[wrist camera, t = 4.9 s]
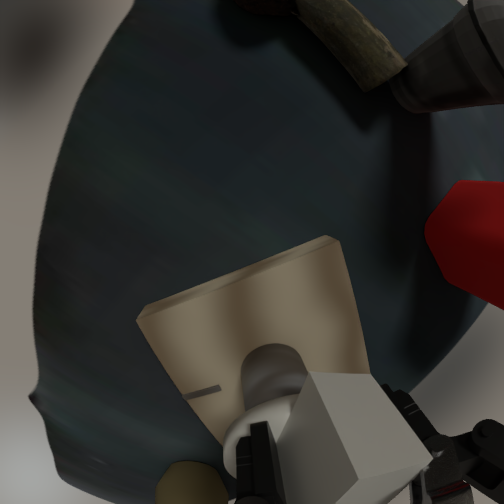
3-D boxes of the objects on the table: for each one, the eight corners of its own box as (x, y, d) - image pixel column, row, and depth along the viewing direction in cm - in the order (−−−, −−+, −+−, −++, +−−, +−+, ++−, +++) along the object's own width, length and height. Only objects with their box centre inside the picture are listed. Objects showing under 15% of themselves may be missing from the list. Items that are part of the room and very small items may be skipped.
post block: (325, 234, 19) (396, 267, 10) (362, 375, 22) (407, 440, 14) (145, 305, 19) (99, 378, 10) (222, 427, 22) (224, 504, 13)
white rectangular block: (250, 347, 10) (276, 489, 4) (393, 360, 11) (469, 444, 5) (208, 483, 12) (209, 564, 6) (312, 485, 13) (335, 554, 7)
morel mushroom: (389, 75, 17) (428, 53, 12) (338, 112, 18) (375, 90, 12) (250, -45, 13) (256, -82, 8) (191, -19, 14) (185, -59, 8)
